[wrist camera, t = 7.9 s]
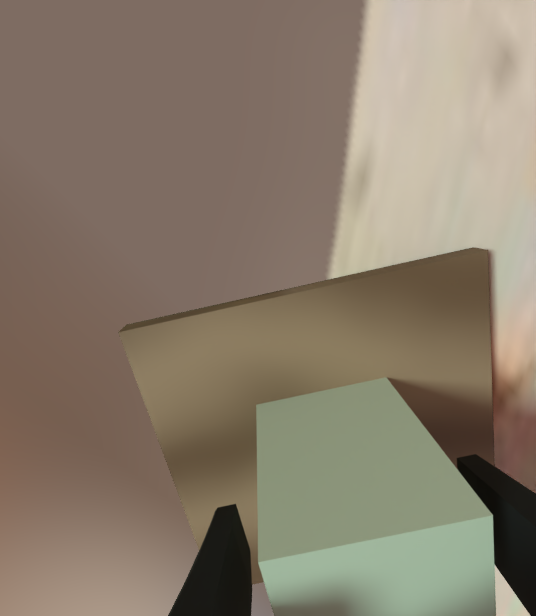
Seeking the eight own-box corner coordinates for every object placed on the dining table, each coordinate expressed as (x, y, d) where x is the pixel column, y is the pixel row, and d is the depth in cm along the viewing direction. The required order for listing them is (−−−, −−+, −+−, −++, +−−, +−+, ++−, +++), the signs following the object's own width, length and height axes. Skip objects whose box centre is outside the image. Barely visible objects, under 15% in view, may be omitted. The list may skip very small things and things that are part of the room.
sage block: (399, 482, 14) (497, 668, 9) (282, 506, 14) (301, 705, 9) (386, 377, 13) (492, 515, 7) (256, 404, 13) (258, 562, 7)
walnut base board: (484, 519, 16) (496, 535, 15) (216, 573, 16) (214, 591, 16) (473, 247, 12) (487, 250, 12) (126, 324, 13) (118, 332, 12)
